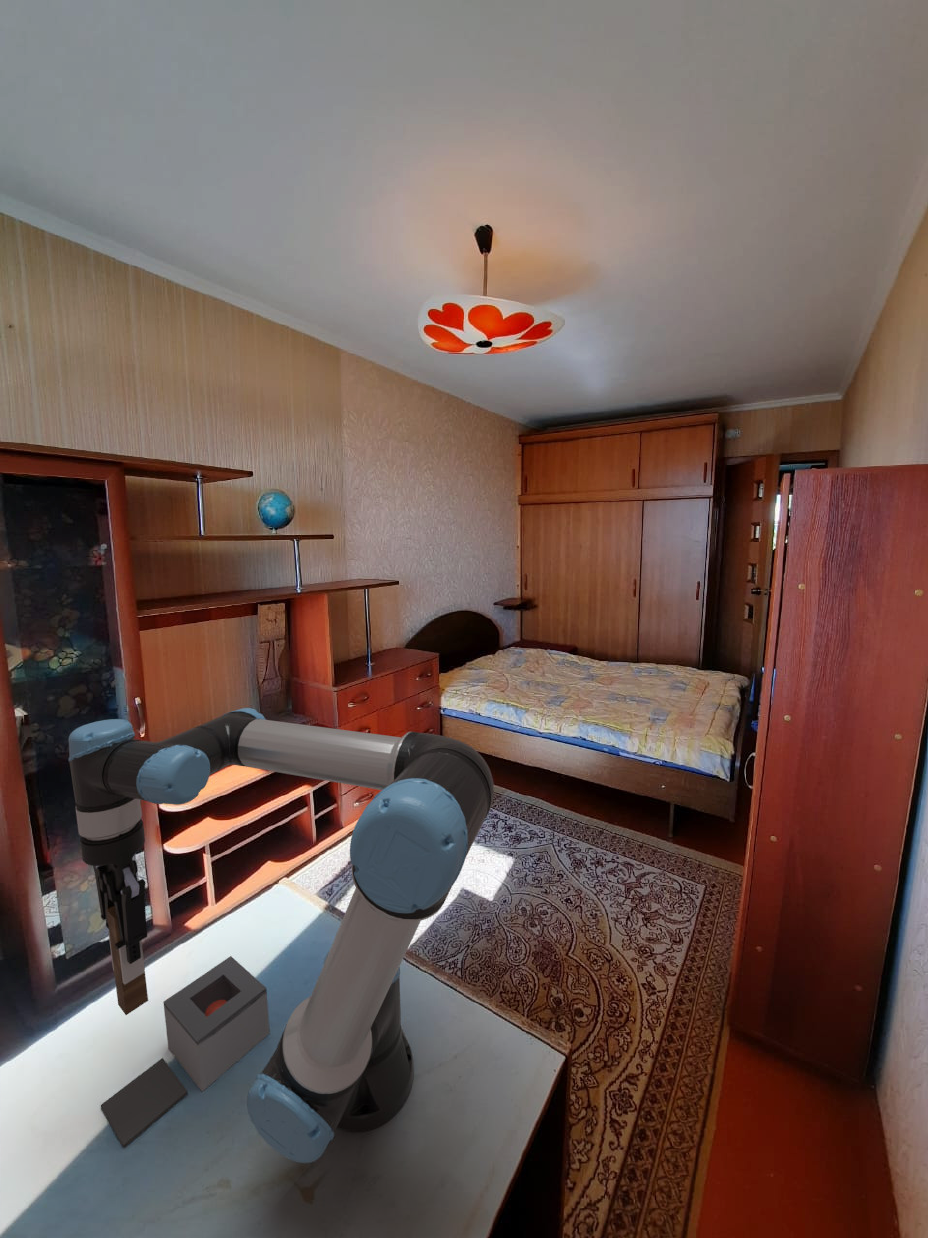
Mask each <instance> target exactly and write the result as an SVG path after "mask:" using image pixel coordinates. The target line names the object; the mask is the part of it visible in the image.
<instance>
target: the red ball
mask: <svg viewBox="0 0 928 1238" xmlns="http://www.w3.org/2000/svg"><path fill="white" fill-rule="evenodd" d="M226 1002H227V1001H226V1000H217V1001H215V1002H213V1003H212V1004H210V1005H209V1006H208V1008H207V1009H206V1012H205V1015H206V1017H208V1016H209V1015H210V1014H212V1013H213V1012H214V1011H216V1010H217V1009H218V1008H220V1007H221V1006H222V1005H224V1004H225V1003H226Z"/></svg>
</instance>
